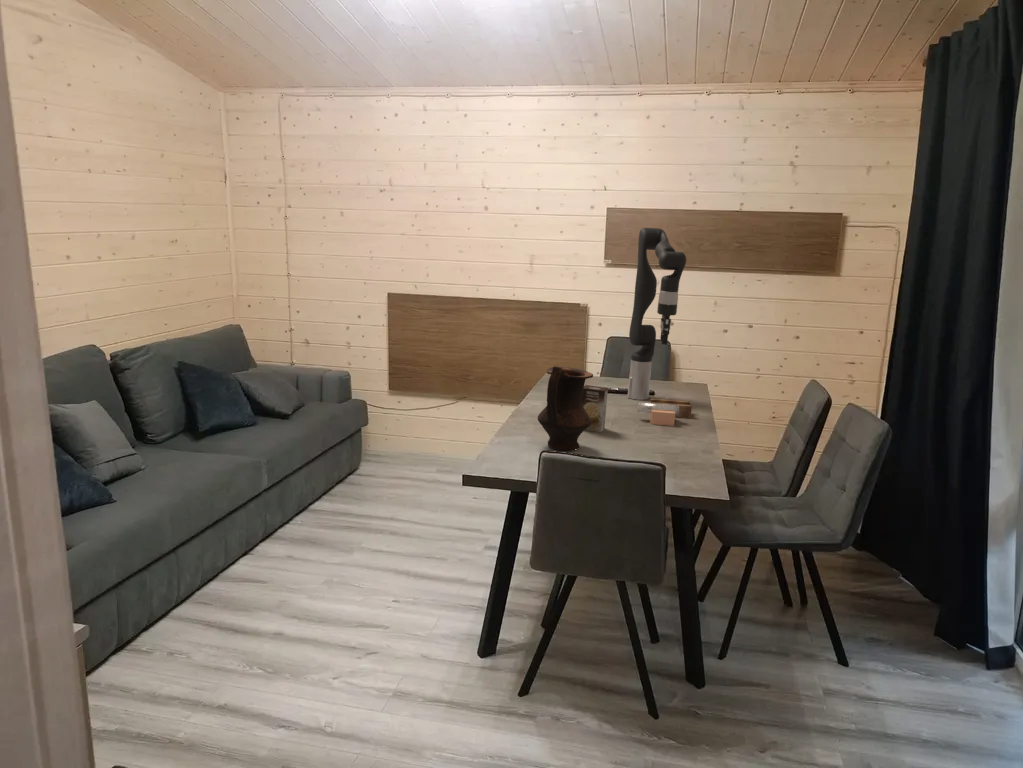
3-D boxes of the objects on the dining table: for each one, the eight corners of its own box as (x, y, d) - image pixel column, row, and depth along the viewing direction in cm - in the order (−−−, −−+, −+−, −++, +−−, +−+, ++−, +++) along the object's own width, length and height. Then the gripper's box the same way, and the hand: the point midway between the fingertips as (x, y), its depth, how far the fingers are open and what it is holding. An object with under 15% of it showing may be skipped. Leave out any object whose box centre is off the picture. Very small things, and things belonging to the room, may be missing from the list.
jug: (551, 435, 264) (556, 354, 257) (598, 445, 255) (604, 361, 249) (522, 449, 246) (527, 362, 239) (572, 460, 237) (578, 370, 231)
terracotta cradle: (650, 423, 286) (651, 411, 285) (649, 416, 297) (650, 405, 296) (674, 425, 285) (675, 413, 284) (671, 418, 296) (672, 406, 295)
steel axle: (637, 412, 289) (638, 403, 289) (637, 411, 293) (638, 401, 293) (678, 416, 288) (679, 406, 287) (677, 414, 292) (678, 404, 291)
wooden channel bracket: (651, 415, 300) (652, 403, 298) (649, 409, 308) (650, 398, 307) (690, 418, 298) (691, 406, 297) (688, 412, 306) (689, 401, 305)
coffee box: (577, 429, 274) (580, 387, 271) (581, 425, 280) (584, 384, 276) (601, 432, 271) (604, 390, 268) (605, 428, 277) (608, 387, 274)
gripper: (657, 299, 297) (653, 338, 300) (659, 304, 283) (654, 344, 287) (676, 301, 296) (671, 340, 300) (678, 305, 282) (674, 346, 286)
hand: (663, 342), depth 293 cm, fingers open, 8 cm apart
